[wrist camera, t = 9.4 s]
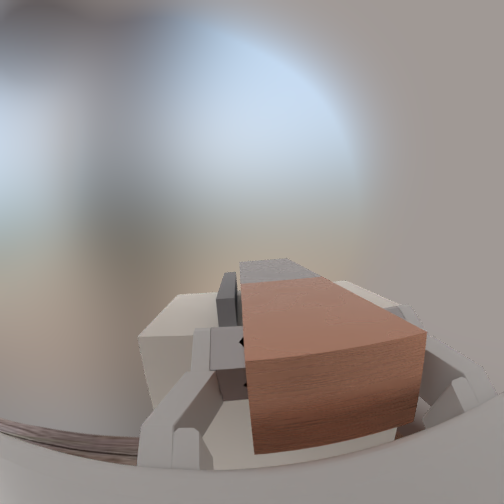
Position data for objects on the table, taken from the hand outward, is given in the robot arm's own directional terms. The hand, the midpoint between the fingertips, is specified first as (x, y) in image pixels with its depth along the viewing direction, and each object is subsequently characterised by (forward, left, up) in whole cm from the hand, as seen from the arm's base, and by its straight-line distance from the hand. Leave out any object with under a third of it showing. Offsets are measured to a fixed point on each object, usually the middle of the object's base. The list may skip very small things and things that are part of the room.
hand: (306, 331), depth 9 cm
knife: (-4, +4, -2) cm, 6 cm away
